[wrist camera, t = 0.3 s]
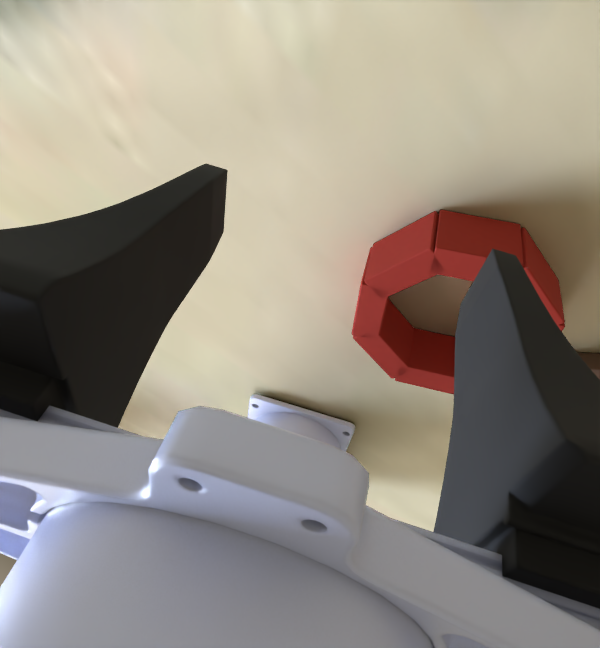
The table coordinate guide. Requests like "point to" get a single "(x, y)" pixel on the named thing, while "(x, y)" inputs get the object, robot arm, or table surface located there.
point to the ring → (423, 263)
